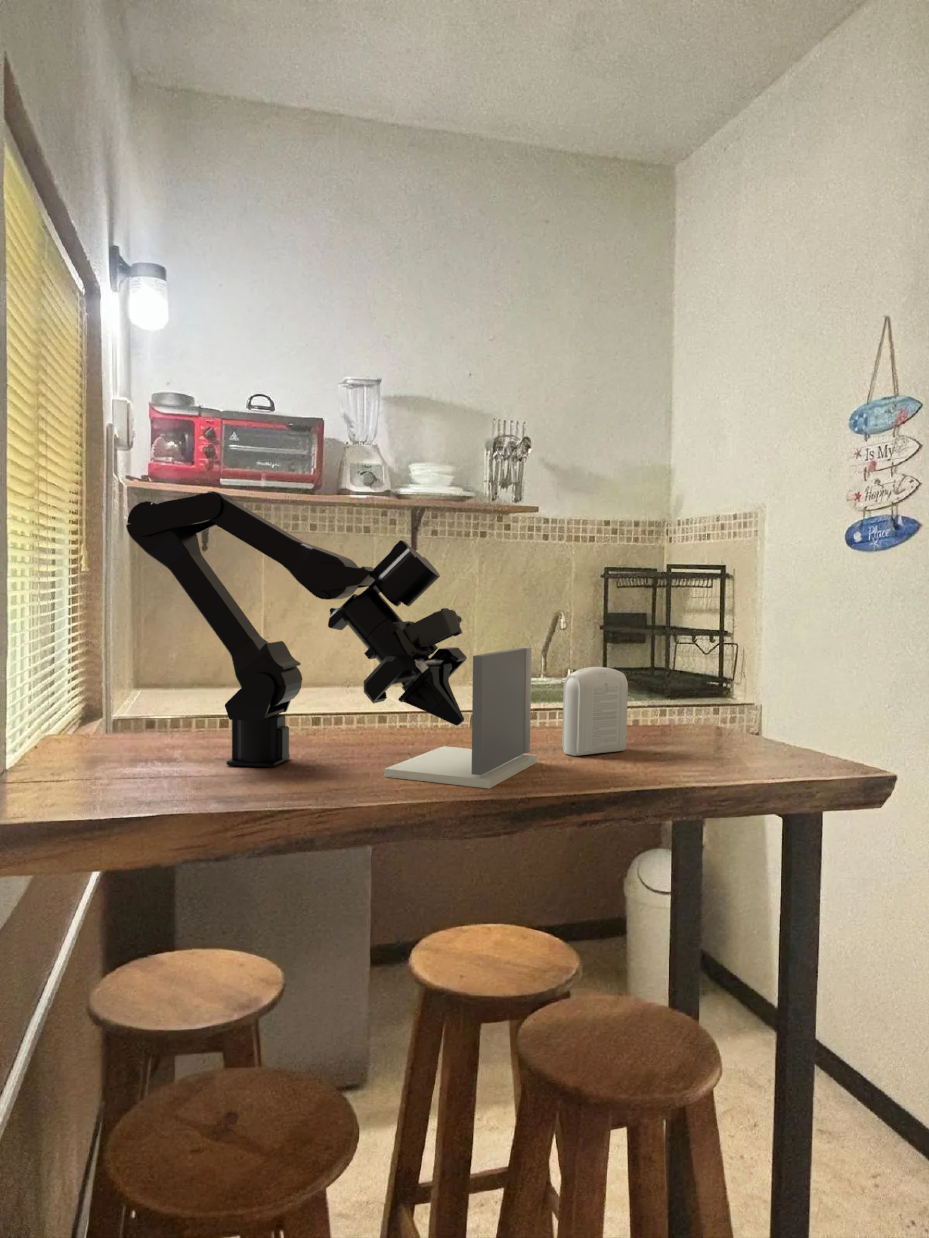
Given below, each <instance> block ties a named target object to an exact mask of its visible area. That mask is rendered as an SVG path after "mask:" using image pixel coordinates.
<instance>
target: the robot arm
mask: <svg viewBox="0 0 929 1238" xmlns="http://www.w3.org/2000/svg"><path fill="white" fill-rule="evenodd" d="M215 526H217V527H218V528H220V529H222V530H224V531H225V532H227V533H228V534H230V535H232V536H233V537H235V538H237V539H239V540H240V541H242V542H243V543H245V544H247V545H248V546H250V547H252V548H254V549H255V550H257V551H258V552H261V553H262V554H264V555H266V556H267V557H268V558H270V559H272V560H274V561H275V562H277V563H279V564H280V565H282V566H283V567H284V568H285V569H286V570H287V571H288V572H289V574H291V576H292V577H293V578H294V580H296V581H297V582H298V583H299V584H300V585H302V587H304V589H306V591H308V592H309V593H310V594H311V595H313V596H314V597H316V598H318V599H320V600H326V601H327V600H331V601H332V600H343V599H347V600H346V601H345V602H344V603H343V604H342V605H341V606H340V607H337V608H335V607H331V608H329V617H328V623H327V627H328V628H329V629H333V630H337V631H342V630H343V631H344V629H345V628H346V627H347V626H348V628H350V629H351V631H352V632H353V633H354V634H355V635H356V637H357V638H358V639H359V640H360V641H361V643H363V645H364V646H365V648H367V650H366V651H365V652H364V655H365V656H366V658H367V659H368V660H373V659H374V660H375V659H376V660H377V661H378V663H379V664H378V665H377V666H376V667H375V668H374V669H373V670H372V672H371V673H370V674H369V675H368V676H367V677H366V678H365V679H364V680H363V693H364V694H365V695H366V697H367V698H368V699H369V701H371V703H372V704H377V703H380V702H381V703H382V702H384V701H385V700H386V699H387V698H388V697H387V692H386V691H388V689H389V688H390V687H391V686H395V685H398V684H401V685H402V687H401V689H402V690H403V691H404V692H403V693H402V694H401V695H400V696H399V697H398V699H397V700H398V701H399V702H400V703H405V704H407V705H410V706H412V707H414V708H417V709H419V710H422V711H424V712H426V713H428V714H431V715H432V716H435V717H437V718H439V719H442V720H443V721H446V722H447V723H450V724H451V725H454V726H456V727H457V726H460V725H462V723H463V722H464V721H465V717H464V715H463V713H462V710H461V709H460V707H459V703H458V702H457V699H456V698H455V695H454V693H453V691H452V687H451V684H450V682H449V680H450V677H452V675H453V674H454V673H455V672H456V671H457V670H458V669H459V668H460V667H461V666H462V664H464V663H465V662H466V661H467V658H468V657H467V656H466V654H464V652H463V651H462V650H461V648H459V647H453V646H451V647H450V646H448V647H442V648H438V647H439V646H437V644H440V643H441V642H443V641H445V640H447V639H449V638H452V637H458V636H459V635H461V634H462V633H463V630H462V628H461V626H460V625H461V624H460V623H461V622H462V621H463V620H462V617H461V616H459V615H458V614H457V613H456V611H455V610H454V609H449V607H448V608H447V607H443V608H440V610H438V611H434V612H433V613H431V614H429V615H427V616H425V617H422V618H421V619H419V620H416V622H415V621H412V620H407V621H404V620H403V619H402V618H401V617H400V616H399V615H398V613H397V612H396V611H395V610H394V609H393V608H392V606H390V604H389V603H388V602H387V600H388V601H389V602H390V603H391V605H393V606H395V607H399V606H401V604H403V605H405V606H406V607H411V606H412V604H413V603H415V602H416V601H417V600H418V599H419V598H420V597H421V596H422V595H423V594H424V593H425V592H426V591H427V590H428V589H429V588H430V587H431V586H432V585H433V584H434V583H435V582H437V580H438V579H439V578H440V577H441V575H440V573H439V572H438V570H437V569H436V568H435V567H434V565H433V564H432V563H431V562H430V561H429V560H428V559H427V558H426V557H424V556H422V555H421V554H420V553H419V552H417V550H415V549H414V548H413V547H411V546H410V545H409V543H407V541H405V540H399V541H397V543H395V545H394V546H393V547H392V549H391V550H390V552H389V553H388V554H387V555H386V556H385V557H384V558H383V559H382V560H381V561H380V562H378V564H377V565H376V566H375V567H372V566H365V565H363V566H362V567H360V566H359V567H358V565H357V563H356V562H355V561H353V560H352V559H351V558H349V557H346V556H345V555H341V554H338V553H336V552H333V551H330V550H327V549H325V548H322V547H319V546H316V545H312V544H310V543H308V542H305V541H303V540H300V539H299V538H298V537H296V536H294V535H293V534H291V533H289V532H287V531H286V530H283V529H282V528H281V527H279V526H277V525H275V524H274V523H272V521H271V522H270V521H269V520H267V519H265V518H264V517H262V516H260V515H259V514H257V513H255V512H254V511H252V510H250V509H248V507H245V506H243V505H242V504H240V503H239V502H237V501H235V500H234V498H233V497H231V496H230V495H228V494H225V493H221V492H218V491H216V490H215V491H214V490H207V491H206V492H203V493H200V494H196V495H193V496H188V497H181V498H176V499H170V500H166V501H163V502H162V501H161V502H160V503H159V502H154V501H150V500H149V501H147V500H146V501H142V502H139V503H138V504H135V505H134V506H133V508H131V510H130V512H129V514H128V516H127V523H126V525H125V527H126V530H127V534H129V537H130V538H131V539H132V540H133V541H134V542H135V544H137V545H138V546H139V548H141V549H142V551H144V552H145V553H146V554H147V555H148V556H150V557H151V558H153V559H154V560H155V561H157V562H158V563H159V564H161V565H162V566H164V567H165V568H166V569H168V570H169V571H170V573H171V574H172V575H173V577H174V578H175V579H176V580H177V581H176V582H178V584H179V585H180V586H181V588H182V589H183V590H184V592H185V593H186V595H187V596H188V597H189V599H190V600H191V601H192V603H193V604H194V606H195V607H196V609H197V610H198V612H199V613H200V614H201V615H202V617H203V618H204V620H205V621H206V622H207V624H208V626H210V628H211V629H212V631H213V632H214V633H215V635H216V636H217V638H218V639H219V640H220V642H221V643H222V645H223V646H224V647H225V649H226V650H227V651H228V653H229V655H230V656H231V657H230V658H231V661H232V665H233V671H234V674H235V675H234V676H235V678H236V679H237V680H236V681H237V682H238V684H239V686H240V688H239V689H238V691H237V692H236V693H235V694H233V695H232V696H231V698H230V699H228V700H227V702H226V703H225V704H224V708H225V710H226V714H227V717H228V720H230V721H231V758H230V759H228V760H226V761H225V762H226V766H238V767H239V766H243V767H264V768H265V767H266V768H273V767H276V766H278V765H279V764H282V763H283V762H285V761H287V760H288V759H290V758H291V755H290V727H289V725H286V714H284V713H287V712H288V709H289V706H290V704H291V701H292V700H294V699H295V698H296V697H297V696H298V695H299V693H300V691H301V688H302V684H303V675H302V673H301V671H300V669H299V668H298V666H301V662H299V661H298V660H296V659H295V658H294V657H293V656H292V654H291V652H290V650H289V649H288V647H287V645H286V644H285V641H283V640H278V641H273V642H272V641H271V642H268V640H266V639H265V638H263V637H262V635H260V633H259V632H258V630H257V629H256V628H255V626H254V625H253V624H252V623H251V621H250V619H249V618H248V617H247V616H246V614H245V613H244V611H243V610H242V608H241V607H240V605H239V604H238V603H237V602H236V600H235V599H234V597H233V595H231V593H230V592H229V591H228V589H227V588H226V586H225V585H224V584H223V582H222V581H221V580H220V578H219V577H218V575H217V574H216V573H215V571H214V570H213V569H212V567H211V566H210V565H209V563H208V562H207V561H206V559H205V557H204V556H203V555H202V554H203V553H202V552H201V549H200V547H201V546H200V544H199V539H198V538H199V537H198V535H197V534H200V533H202V532H205V531H207V530H209V529H212V528H213V527H215ZM363 588H366V589H365V590H364V591H362V592H361V593H360V594H357V593H356V594H355V592H356V591H357V590H358V589H363ZM381 594H382V595H383V597H385V598H383V597H382V595H381ZM385 599H386V600H385ZM431 655H432V656H431ZM282 713H283V714H282Z"/></svg>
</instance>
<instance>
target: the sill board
mask: <svg viewBox="0 0 929 1238" xmlns="http://www.w3.org/2000/svg"><path fill="white" fill-rule="evenodd" d="M536 763H538V754H529V753H524V754H522V755H520V756H518V757H516V758H514V759H512V760H510V761H508V762H506V763H504V764H502V765H500V766H498V767H496V768H494V769H493V770H491V771H489V772H487V773H485V774H483V775H473V774H472V748H465V747H457V746H455V747H454V746H445V745H443V746H440V747H437V748H434V749H432V750H430V751H428V752H424V753H422V754H420V755H417V756H415V757H414V756H413V757H411V758H409V759H406V760H403V761H402V762H398V763H396V764H393V765H390V766H388V767H385V768H384V777H385V778H393V779H402V780H410V781H419V782H420V781H421V782H427V783H428V782H430V783H435V784H444V785H445V784H446V785H453V786H454V785H455V786H462V787H463V786H465V787H472V788H481V789H482V788H483V789H492V788H494V787H495V786H496V785H499V784H500V783H502V782H504V781H506V780H509V778H512V777H513V776H515V775H517V774H518V773H520V772H522V771H523V770H526V769H528V768H529V767H531V766H533V765H535V764H536Z"/></svg>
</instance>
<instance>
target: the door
mask: <svg viewBox="0 0 929 1238" xmlns="http://www.w3.org/2000/svg"><path fill="white" fill-rule="evenodd" d="M531 699H532V647H516V648H511V649H506V650H505V649H504V650H499V651H493V652H487V653H481V654H475V655H474V654H473V655H472V703H471V704H472V706H471V708H472V709H471V710H472V711H471V713H472V714H471V716H470V719H469V728H470V730H471V749H472V774H473V775H483V774H485V773H487V772H489V771H491V770H493V769H494V768H496V767H498V766H500V765H502V764H504V763H506V762H508V761H510V760H512V759H514V758H516V757H518V756H520V755H522V754H529V753H531V720H532V719H531V714H532V713H531V707H532V705H531V704H532V700H531Z"/></svg>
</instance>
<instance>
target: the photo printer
mask: <svg viewBox="0 0 929 1238" xmlns="http://www.w3.org/2000/svg"><path fill="white" fill-rule="evenodd" d="M628 689H629V684H628V680H627V677H626V675H625V673H624V672H622V671H619V670H617V669H616V668H615V669H614V668H611V667H605V666H604V667H603V666H589V667H585V668H580V669H577V670H576V671H573V672H570V673H569V674H568V675H567V676H566V677H565V679H564V684H563V697H562V698H563V699H562V700H563V702H562V703H563V707H562V739H561V741H562V743H561V744H562V751H563V752H564V754H566V755H567V756H573V757H578V756H587V755H596V754H605V753H606V754H607V753H613V752H614V753H615V752H624V751H625V750H626V749H627V739H628V738H627V736H628V735H627V734H628V733H627V730H628V727H627V726H628V725H627V724H628V698H629V697H628V695H629V694H628V693H629V692H628V691H629V690H628Z"/></svg>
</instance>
